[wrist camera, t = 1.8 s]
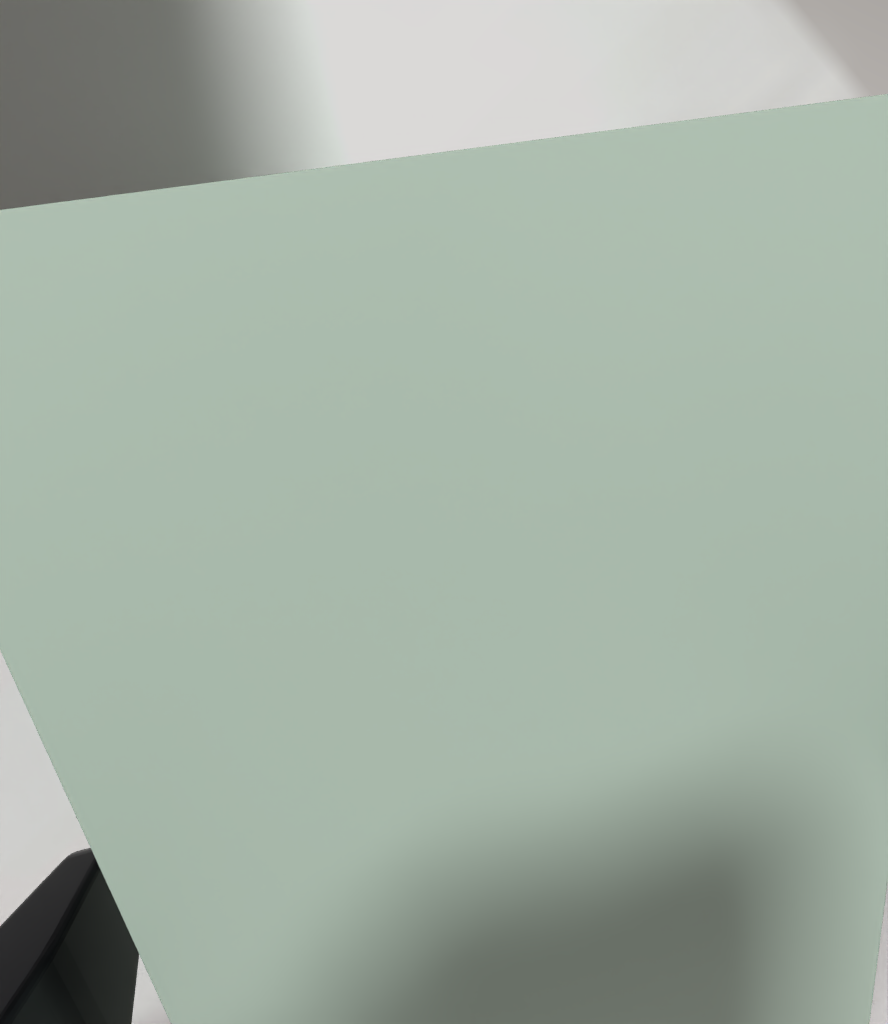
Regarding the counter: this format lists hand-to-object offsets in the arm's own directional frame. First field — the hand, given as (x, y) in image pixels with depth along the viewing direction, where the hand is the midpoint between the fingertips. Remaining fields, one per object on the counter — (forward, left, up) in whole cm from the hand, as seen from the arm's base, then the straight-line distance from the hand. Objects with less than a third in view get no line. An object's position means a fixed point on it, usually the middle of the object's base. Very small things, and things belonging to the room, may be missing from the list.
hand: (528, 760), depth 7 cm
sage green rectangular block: (0, 0, -5) cm, 5 cm away
